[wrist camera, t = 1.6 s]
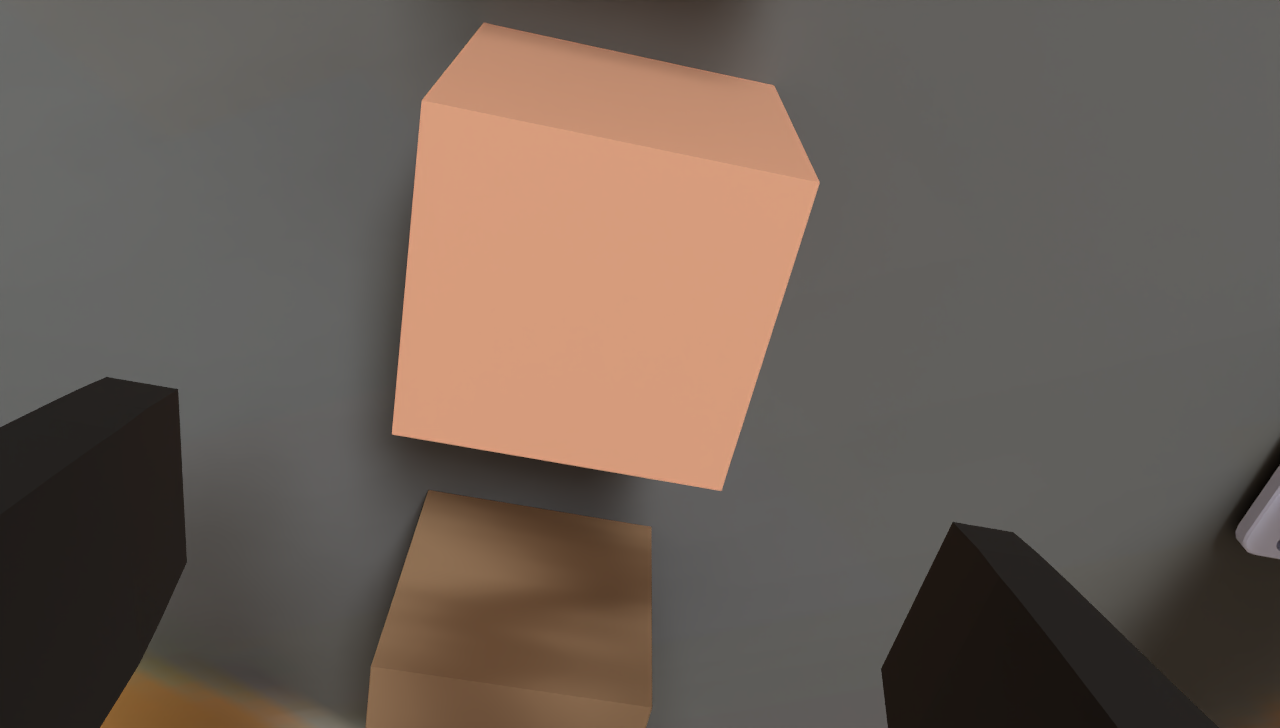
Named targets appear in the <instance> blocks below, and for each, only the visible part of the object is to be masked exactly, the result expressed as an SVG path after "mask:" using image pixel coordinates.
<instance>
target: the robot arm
mask: <svg viewBox="0 0 1280 728" xmlns="http://www.w3.org/2000/svg"><path fill="white" fill-rule="evenodd" d="M1235 533H1236V539H1237V540H1238V541H1239V542H1240V544H1241V545H1242V546H1243V547H1244V548H1245V550H1246V551H1247V552H1249V553H1251V554H1254V555H1258V556H1264V557H1270V558H1276V559H1280V465H1279V467H1278V468H1277V470H1276V471H1275V472H1274V474H1273V475H1272V477H1271V478H1270V480H1269V481H1268V483H1267V484H1266V486H1265V487H1264V488H1263V490H1262V491H1261V493H1260V494H1259V496H1258V497H1257V499H1256V500H1255V501H1254V503H1253V504H1252V506H1251V507H1250V509H1249V510H1248V512H1247V513H1246V515H1245V516H1244V517H1243V519H1242V520H1241V522H1240V523H1239V525H1238V527H1237V529H1236V531H1235ZM186 563H187V557H186V537H185V518H184V498H183V478H182V459H181V439H180V419H179V400H178V389H173V388H167V387H162V386H156V385H150V384H144V383H138V382H132V381H127V380H121V379H115V378H109V377H106V378H103V379H101V380H99V381H96V382H94V383H92V384H89V385H87V386H85V387H83V388H80V389H78V390H76V391H74V392H72V393H70V394H68V395H65V396H63V397H61V398H59V399H57V400H55V401H53V402H51V403H49V404H47V405H45V406H43V407H41V408H39V409H37V410H35V411H33V412H30V413H28V414H26V415H24V416H22V417H20V418H18V419H16V420H14V421H12V422H10V423H8V424H6V425H4V426H2V427H0V728H100V726H101V725H102V723H103V722H104V720H105V718H106V717H107V715H108V714H109V712H110V710H111V709H112V707H113V706H114V704H115V702H116V701H117V699H118V698H119V696H120V694H121V693H122V691H123V690H124V688H125V686H126V685H127V683H128V681H129V680H130V678H131V676H132V675H133V673H134V672H135V670H136V668H137V667H138V665H139V663H140V661H141V659H142V657H143V655H144V653H145V651H146V649H147V647H148V645H149V643H150V641H151V639H152V637H153V634H154V632H155V630H156V628H157V626H158V624H159V622H160V620H161V618H162V616H163V614H164V611H165V609H166V607H167V605H168V603H169V600H170V598H171V596H172V594H173V591H174V589H175V587H176V585H177V583H178V580H179V578H180V576H181V574H182V571H183V569H184V567H185V565H186ZM881 671H882V679H883V688H884V697H885V705H886V714H887V723H888V728H1219V727H1217V726H1216V725H1215V724H1214V723H1213V722H1212V721H1211V720H1210V719H1209V718H1208V717H1207V716H1206V715H1205V714H1204V713H1203V712H1202V711H1201V710H1200V709H1198V708H1197V707H1196V706H1195V705H1194V704H1193V703H1192V702H1191V701H1190V700H1189V699H1188V698H1187V697H1186V696H1185V695H1184V694H1183V693H1182V692H1181V691H1180V690H1179V689H1178V688H1177V687H1176V686H1175V685H1173V684H1172V683H1171V682H1170V681H1169V680H1168V679H1167V678H1166V677H1165V676H1164V675H1163V674H1162V673H1161V672H1160V671H1159V670H1158V669H1157V668H1156V667H1155V666H1154V665H1153V664H1152V663H1151V662H1150V661H1149V660H1148V659H1147V658H1146V657H1145V656H1144V655H1143V654H1142V653H1141V652H1140V651H1138V650H1137V649H1136V648H1135V647H1134V646H1133V645H1132V644H1131V643H1130V642H1129V641H1128V640H1127V639H1126V638H1125V637H1124V636H1123V635H1122V634H1121V633H1120V632H1119V631H1118V630H1117V629H1116V628H1115V627H1114V626H1113V625H1112V624H1111V623H1110V622H1109V621H1108V620H1107V619H1106V618H1105V617H1104V616H1103V615H1102V614H1101V613H1100V612H1099V611H1098V610H1097V609H1096V608H1095V607H1094V606H1093V605H1092V604H1090V603H1089V602H1088V601H1087V600H1086V599H1085V598H1084V597H1083V596H1082V595H1081V594H1080V593H1079V592H1078V591H1077V590H1076V589H1075V588H1074V587H1073V586H1072V585H1071V584H1070V583H1069V582H1068V581H1067V580H1066V579H1065V578H1064V577H1062V576H1061V575H1060V574H1059V573H1058V572H1057V571H1056V570H1055V569H1054V568H1053V567H1052V566H1051V565H1050V564H1049V563H1048V562H1047V561H1045V560H1044V559H1043V558H1042V557H1041V556H1040V555H1039V554H1038V553H1037V552H1036V551H1034V550H1033V549H1032V548H1031V547H1030V546H1029V545H1028V544H1026V543H1025V542H1024V541H1023V540H1022V539H1020V538H1019V537H1018V536H1017V535H1016V534H1014V533H1013V532H1008V531H1002V530H996V529H990V528H985V527H979V526H973V525H967V524H961V523H955V522H953V523H952V525H951V527H950V529H949V531H948V533H947V535H946V537H945V539H944V541H943V543H942V545H941V547H940V550H939V552H938V554H937V556H936V558H935V560H934V562H933V564H932V566H931V568H930V570H929V572H928V574H927V576H926V578H925V580H924V582H923V584H922V586H921V588H920V590H919V593H918V595H917V597H916V599H915V601H914V603H913V605H912V607H911V609H910V611H909V613H908V615H907V617H906V619H905V621H904V623H903V625H902V627H901V629H900V631H899V634H898V636H897V638H896V640H895V642H894V644H893V646H892V648H891V650H890V652H889V654H888V656H887V658H886V660H885V662H884V664H883V666H882V668H881Z"/></svg>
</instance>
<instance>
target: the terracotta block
mask: <svg viewBox="0 0 1280 728" xmlns="http://www.w3.org/2000/svg"><path fill="white" fill-rule="evenodd" d="M819 183H820V182H819V180H818V178H817V176H816V174H815V172H814V169H813V167H812V165H811V163H810V161H809V159H808V157H807V155H806V152H805V150H804V148H803V146H802V144H801V142H800V140H799V138H798V135H797V133H796V131H795V129H794V127H793V125H792V123H791V121H790V118H789V116H788V114H787V112H786V110H785V108H784V106H783V104H782V101H781V99H780V97H779V95H778V93H777V91H776V89H775V87H774V85H769V84H765V83H760V82H756V81H751V80H746V79H742V78H737V77H732V76H728V75H723V74H719V73H714V72H709V71H705V70H700V69H695V68H691V67H686V66H682V65H677V64H672V63H668V62H663V61H658V60H654V59H649V58H645V57H640V56H635V55H631V54H626V53H621V52H617V51H612V50H608V49H603V48H598V47H594V46H589V45H584V44H580V43H575V42H571V41H566V40H561V39H557V38H552V37H548V36H543V35H538V34H534V33H529V32H524V31H520V30H515V29H511V28H506V27H501V26H497V25H492V24H487V23H483V24H482V25H481V27H480V28H479V29H478V30H477V32H476V33H475V34H474V35H473V37H472V38H471V39H470V40H469V42H468V43H467V44H466V45H465V47H464V48H463V49H462V50H461V52H460V53H459V54H458V55H457V57H456V58H455V59H454V61H453V62H452V63H451V64H450V66H449V67H448V68H447V69H446V71H445V72H444V73H443V74H442V76H441V77H440V78H439V79H438V81H437V82H436V83H435V84H434V86H433V87H432V88H431V89H430V91H429V92H428V93H427V94H426V96H425V97H424V98H423V99H422V104H421V115H420V126H419V137H418V148H417V160H416V171H415V182H414V193H413V204H412V215H411V227H410V238H409V249H408V260H407V271H406V282H405V293H404V305H403V316H402V327H401V338H400V349H399V360H398V372H397V383H396V394H395V405H394V416H393V427H392V434H393V435H398V436H404V437H410V438H416V439H422V440H428V441H433V442H439V443H445V444H451V445H457V446H463V447H468V448H474V449H480V450H486V451H492V452H497V453H503V454H509V455H515V456H521V457H527V458H532V459H538V460H544V461H550V462H556V463H562V464H567V465H573V466H579V467H585V468H591V469H597V470H602V471H608V472H614V473H620V474H626V475H632V476H637V477H643V478H649V479H655V480H661V481H666V482H672V483H678V484H684V485H690V486H696V487H701V488H707V489H713V490H719V491H721V490H722V487H723V484H724V481H725V478H726V475H727V472H728V468H729V465H730V462H731V459H732V456H733V453H734V450H735V447H736V443H737V440H738V437H739V434H740V431H741V428H742V425H743V421H744V418H745V415H746V412H747V409H748V406H749V403H750V399H751V396H752V393H753V390H754V387H755V384H756V381H757V378H758V374H759V371H760V368H761V365H762V362H763V359H764V356H765V352H766V349H767V346H768V343H769V340H770V337H771V334H772V331H773V327H774V324H775V321H776V318H777V315H778V312H779V309H780V305H781V302H782V299H783V296H784V293H785V290H786V287H787V284H788V280H789V277H790V274H791V271H792V268H793V265H794V262H795V258H796V255H797V252H798V249H799V246H800V243H801V240H802V237H803V233H804V230H805V227H806V224H807V221H808V218H809V215H810V211H811V208H812V205H813V202H814V199H815V196H816V193H817V190H818V186H819Z"/></svg>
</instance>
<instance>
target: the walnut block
mask: <svg viewBox="0 0 1280 728" xmlns="http://www.w3.org/2000/svg"><path fill="white" fill-rule="evenodd" d="M651 709H652V574H651V527H649V526H643V525H637V524H631V523H625V522H619V521H613V520H607V519H600V518H594V517H588V516H582V515H576V514H570V513H564V512H558V511H552V510H546V509H540V508H534V507H528V506H522V505H516V504H510V503H504V502H498V501H492V500H486V499H480V498H474V497H468V496H461V495H455V494H449V493H443V492H437V491H431V490H428V493H427V496H426V499H425V502H424V505H423V508H422V511H421V514H420V518H419V521H418V524H417V527H416V530H415V533H414V536H413V539H412V542H411V545H410V548H409V551H408V554H407V557H406V560H405V564H404V567H403V570H402V573H401V576H400V579H399V582H398V585H397V588H396V591H395V594H394V597H393V600H392V603H391V607H390V610H389V613H388V616H387V619H386V622H385V625H384V628H383V631H382V634H381V637H380V640H379V643H378V646H377V650H376V653H375V656H374V659H373V662H372V665H371V672H370V684H369V695H368V706H367V718H366V728H646V725H647V722H648V719H649V716H650V713H651Z"/></svg>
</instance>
